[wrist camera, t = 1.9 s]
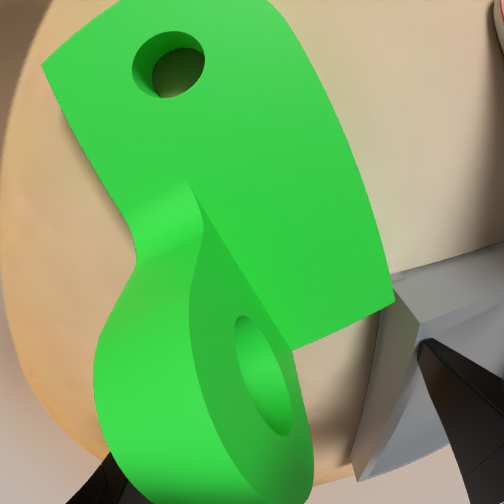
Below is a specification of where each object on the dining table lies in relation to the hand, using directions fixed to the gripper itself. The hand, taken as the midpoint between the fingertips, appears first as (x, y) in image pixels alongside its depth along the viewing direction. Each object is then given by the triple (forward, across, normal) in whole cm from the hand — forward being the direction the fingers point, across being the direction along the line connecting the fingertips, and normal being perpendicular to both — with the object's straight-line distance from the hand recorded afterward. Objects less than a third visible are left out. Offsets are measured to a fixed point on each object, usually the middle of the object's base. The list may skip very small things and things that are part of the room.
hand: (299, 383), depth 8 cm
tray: (+3, -13, +8) cm, 16 cm away
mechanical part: (+4, +1, -6) cm, 7 cm away
